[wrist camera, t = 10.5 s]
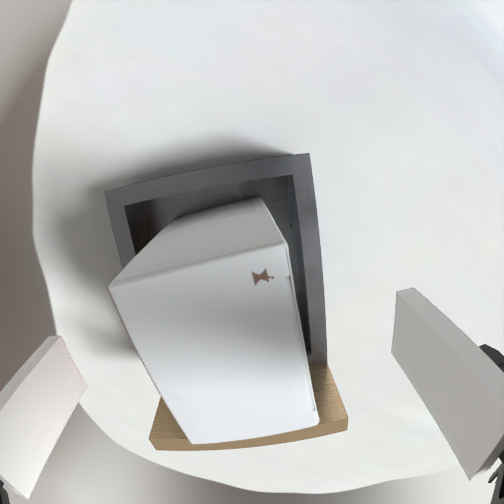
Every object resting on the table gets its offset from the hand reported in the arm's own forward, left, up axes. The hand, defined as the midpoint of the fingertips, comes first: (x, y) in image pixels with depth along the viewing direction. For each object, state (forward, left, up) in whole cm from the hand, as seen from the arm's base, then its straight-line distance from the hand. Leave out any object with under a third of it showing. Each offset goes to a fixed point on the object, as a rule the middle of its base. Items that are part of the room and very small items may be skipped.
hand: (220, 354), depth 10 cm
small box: (0, 0, -10) cm, 10 cm away
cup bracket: (0, 0, -10) cm, 10 cm away
